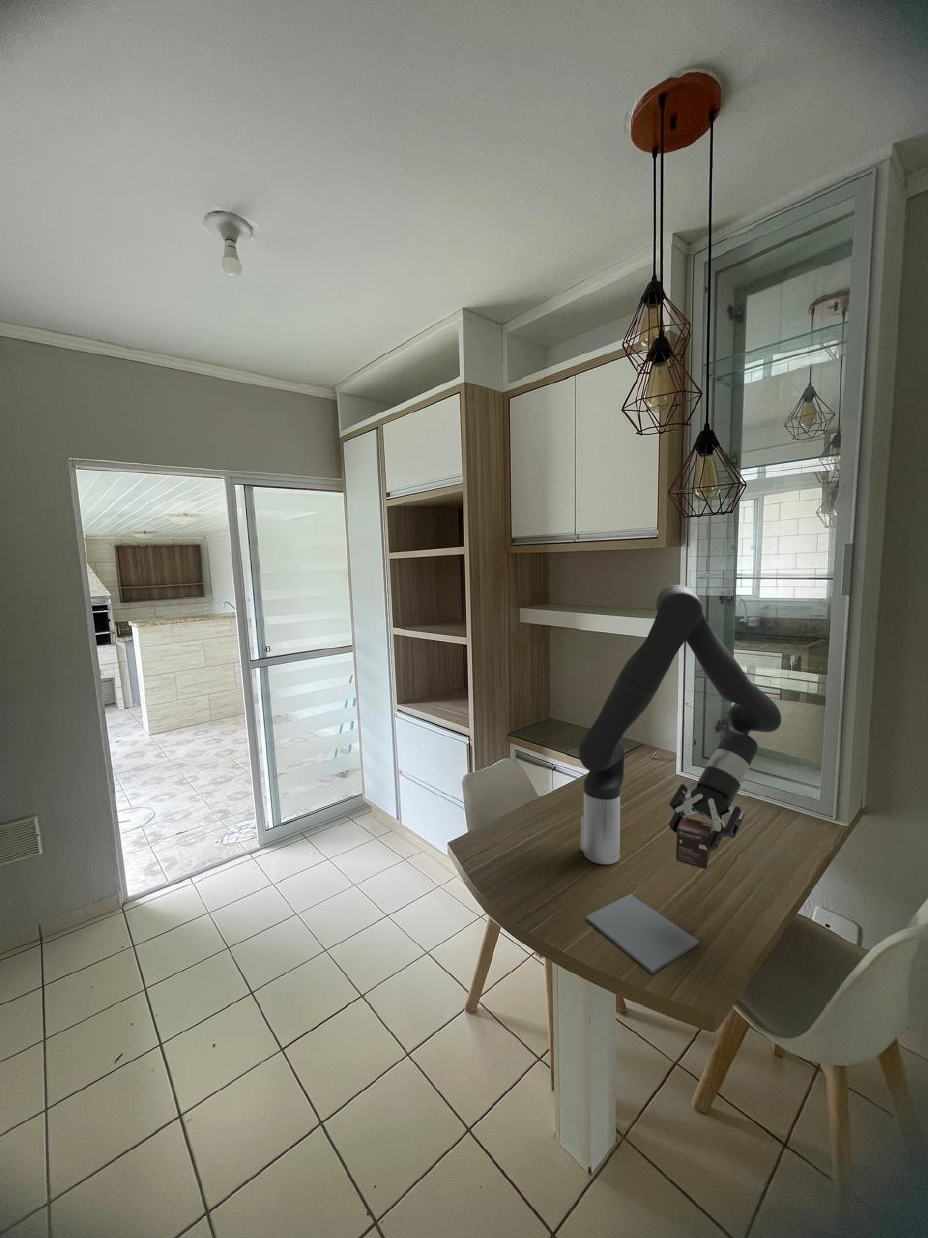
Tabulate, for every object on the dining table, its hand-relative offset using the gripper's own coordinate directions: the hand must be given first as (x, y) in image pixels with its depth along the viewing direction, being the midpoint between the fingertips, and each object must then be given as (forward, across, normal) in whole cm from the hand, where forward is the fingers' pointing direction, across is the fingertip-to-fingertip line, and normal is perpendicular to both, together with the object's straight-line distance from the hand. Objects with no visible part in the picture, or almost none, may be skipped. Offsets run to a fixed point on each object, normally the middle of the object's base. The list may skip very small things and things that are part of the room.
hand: (690, 839), depth 101 cm
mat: (+21, -3, +4) cm, 21 cm away
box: (+3, 0, +4) cm, 5 cm away
